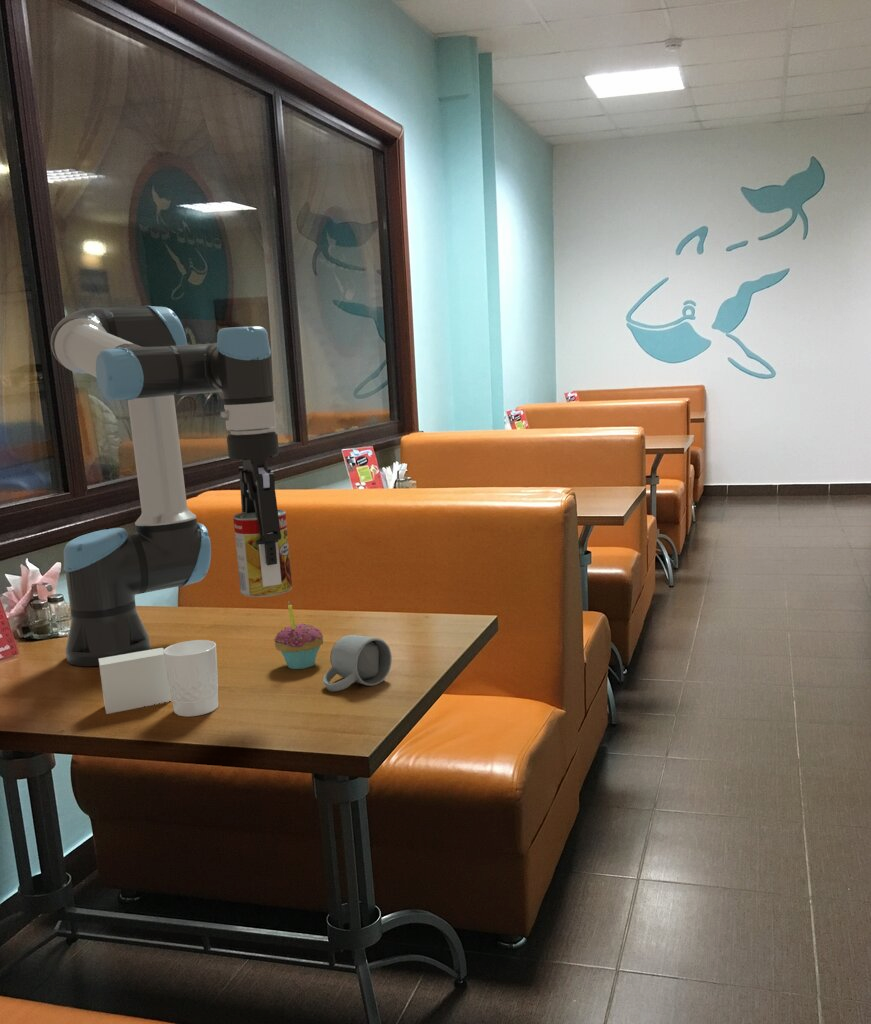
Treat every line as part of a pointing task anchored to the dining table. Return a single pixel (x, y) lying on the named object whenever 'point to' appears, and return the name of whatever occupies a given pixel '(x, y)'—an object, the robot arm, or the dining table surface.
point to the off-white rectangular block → (134, 680)
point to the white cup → (192, 677)
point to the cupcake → (298, 643)
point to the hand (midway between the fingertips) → (265, 579)
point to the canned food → (250, 556)
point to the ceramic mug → (358, 662)
